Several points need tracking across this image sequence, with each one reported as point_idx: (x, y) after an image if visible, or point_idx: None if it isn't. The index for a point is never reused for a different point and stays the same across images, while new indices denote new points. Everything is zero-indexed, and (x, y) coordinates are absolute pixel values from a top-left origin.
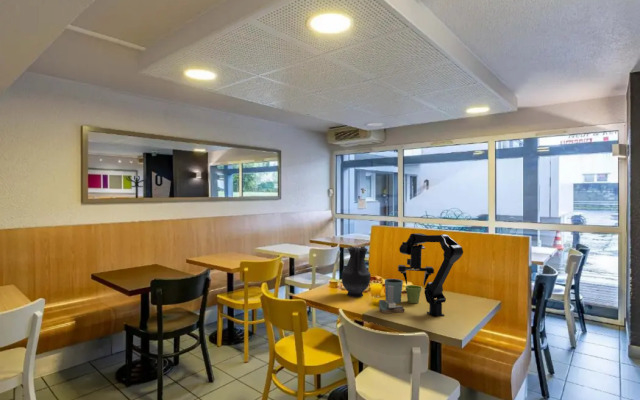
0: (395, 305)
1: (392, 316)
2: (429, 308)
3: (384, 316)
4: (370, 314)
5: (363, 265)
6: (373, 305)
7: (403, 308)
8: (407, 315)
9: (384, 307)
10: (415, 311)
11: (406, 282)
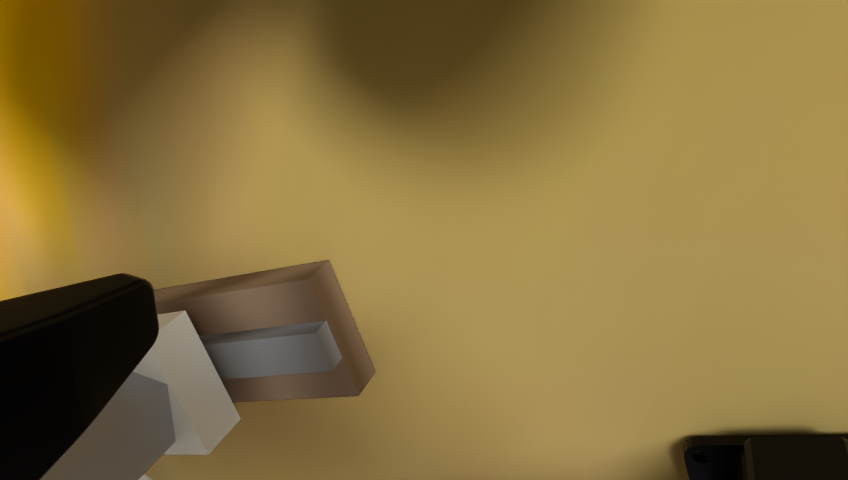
0: (220, 436)
1: (250, 477)
2: (747, 475)
3: (186, 465)
4: None
5: None
6: (19, 105)
7: (346, 372)
8: (395, 477)
9: None
10: (528, 360)
11: (82, 407)
